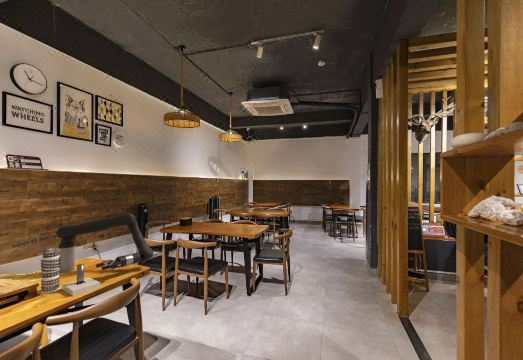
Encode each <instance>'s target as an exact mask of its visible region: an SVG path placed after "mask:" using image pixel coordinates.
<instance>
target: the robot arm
mask: <svg viewBox="0 0 523 360" xmlns="http://www.w3.org/2000/svg"><path fill="white" fill-rule="evenodd" d="M117 226H118V227H119V226H126V227H127V228H128V230H129V231H130V233H131V237H132V239H133V243H134V244H135V246H136V248H137V250H139V251H142V252H141V253H139V252H135V253H130V254H125V255H120V256H119V255H118V256H117V257H116V258H115V259H114V260H113V259H108V260H104V261H101V263H96V264H95V268H97V269H98V268H101V270H102V271H105V270H108V269H110V270H114V269H117V268H118V269H120V268H123V267H127V266H130V265H134V264H137V263H144V262H147V261H149V260H150V259H151V258H153V256H154V251H153V249H152V248H151V246H149V245H148V243H147V242H146V239H145V238H144V236H143V233H142V232H141V230H140V228H139V224H138V221H137V219H136V216H135V215H134V214H132V213H129V212H126V213H123V214H118V215H116V216H110V217H104V218H103V217H102V218H97V219H94V220H93V219H91V220H89V221H85V222H82V223H79V224H75V225H74V224H65V225H63V226H61V227H59V228H58V229H57V230H56V233H55V234H56V236H57V237H58V238H60V239H61V241H60V242H59V244H58V249H59V256H60V257H61V258H59V259H61V261H59V262H60V263H61V264H59V265H60V267H59V268H60V270H59V273H67V272H71V271H74V270H75V253H76V251H75V249H76V245H75V244H76V242H77V236H79V235H86V234H91V233H92V234H93V233H97V232H102V231H106V230H108V229H111V228H114V227H117Z"/></svg>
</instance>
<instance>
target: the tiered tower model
mask: <svg viewBox="0 0 523 360" xmlns="http://www.w3.org/2000/svg"><path fill="white" fill-rule="evenodd" d="M41 253H42V258H41V259H40V268H41V269H40V270H41V274H42V275H41V276H42V277H41V281H40V282H41V283H40V284H41V286H40V291H41V294H45V295H46V294H51V293H55V292H58V291H59V290H60V287H61V285H60V284H61V283H60V280H61V277H60V272H59V270H60V268H59V267H60V265H59V264H61V263H60V262H59V261H61V259H59V258H61V257H60V256H59V247H48V248H45V249H44V250H43V251H42V252H41Z"/></svg>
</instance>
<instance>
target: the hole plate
mask: <svg viewBox="0 0 523 360" xmlns="http://www.w3.org/2000/svg"><path fill="white" fill-rule="evenodd" d="M99 288H101V282H100V281H98V280H96V279H93V278H91V277H90V276H89V277H88V276H87V277H84V283H82V284H79V285H77V280H74V281H70V282H67V283H66V282H65V283H63V284H62V285H61V290H63V291H65V293H67V294H68V295H70V296H72V297H74V296H78V295H80V294H83V293H87V292H90V291H93V290H96V289H99Z"/></svg>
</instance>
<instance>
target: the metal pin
mask: <svg viewBox="0 0 523 360" xmlns="http://www.w3.org/2000/svg"><path fill="white" fill-rule="evenodd" d="M84 278H85V264H84V263H80V264H77V265H76V281H77V285H79V284H82V283H84Z"/></svg>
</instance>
